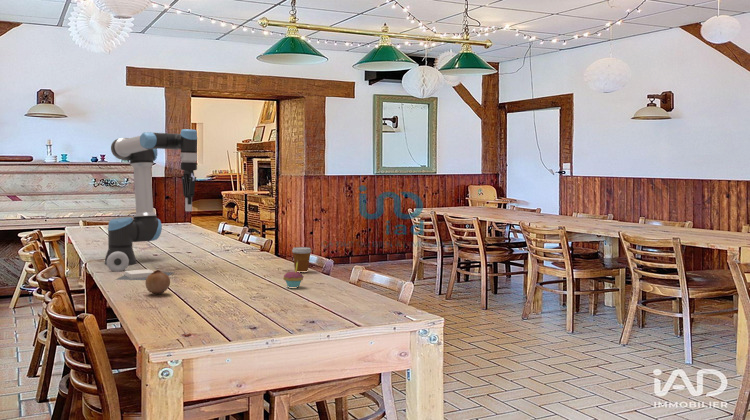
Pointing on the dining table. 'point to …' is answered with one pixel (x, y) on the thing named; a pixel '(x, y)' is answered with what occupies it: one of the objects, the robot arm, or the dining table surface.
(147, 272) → the board
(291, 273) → the cupcake
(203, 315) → the dining table surface
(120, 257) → the donut
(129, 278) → the mat
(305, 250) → the disposable coffee cup
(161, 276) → the onion
